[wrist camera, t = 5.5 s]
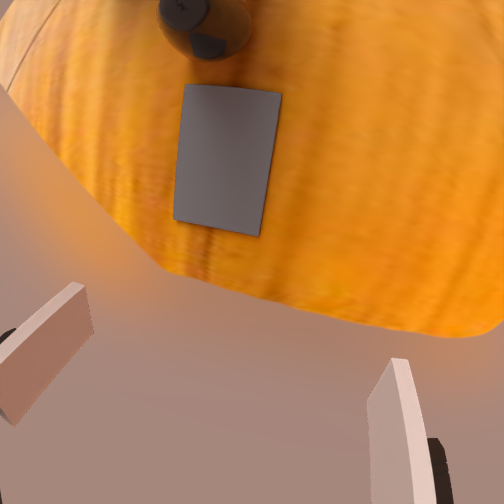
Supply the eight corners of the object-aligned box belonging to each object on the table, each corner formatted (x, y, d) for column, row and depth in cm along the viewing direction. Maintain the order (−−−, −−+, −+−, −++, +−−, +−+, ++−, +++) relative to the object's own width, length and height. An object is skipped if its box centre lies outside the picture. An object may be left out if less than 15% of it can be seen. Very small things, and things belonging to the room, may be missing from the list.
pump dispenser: (274, 27, 32) (253, -18, 18) (222, 80, 36) (175, 64, 23) (219, -10, 30) (176, -56, 17) (171, 42, 35) (110, 18, 21)
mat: (175, 217, 46) (173, 219, 45) (188, 84, 37) (185, 83, 36) (259, 233, 45) (258, 236, 44) (282, 93, 36) (281, 93, 35)
